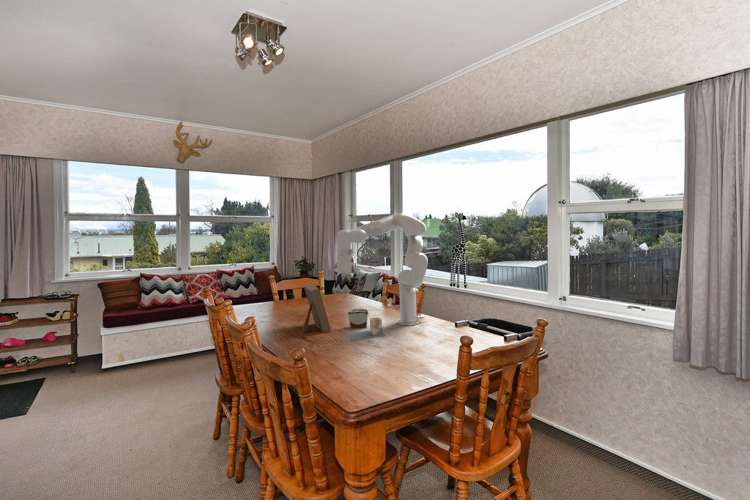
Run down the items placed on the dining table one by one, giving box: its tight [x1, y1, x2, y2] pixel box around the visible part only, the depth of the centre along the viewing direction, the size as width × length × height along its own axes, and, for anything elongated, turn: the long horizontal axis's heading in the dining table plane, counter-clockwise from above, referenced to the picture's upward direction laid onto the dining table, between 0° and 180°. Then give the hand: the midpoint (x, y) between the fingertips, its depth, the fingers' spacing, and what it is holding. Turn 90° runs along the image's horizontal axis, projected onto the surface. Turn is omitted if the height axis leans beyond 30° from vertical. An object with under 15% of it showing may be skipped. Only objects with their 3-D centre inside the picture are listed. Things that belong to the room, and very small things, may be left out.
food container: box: [347, 308, 370, 329], centre depth 222 cm, size 12×6×10 cm, turn 84°
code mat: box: [344, 330, 388, 342], centre depth 204 cm, size 20×14×1 cm
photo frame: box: [302, 282, 332, 334], centre depth 220 cm, size 15×22×25 cm
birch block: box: [369, 316, 383, 335], centre depth 206 cm, size 5×5×8 cm
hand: (346, 284), depth 208 cm, fingers open, 9 cm apart
